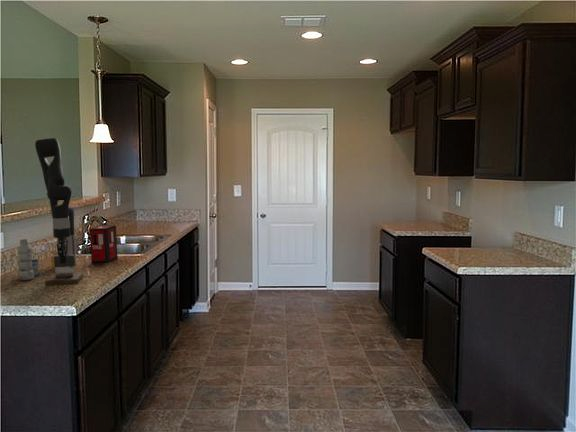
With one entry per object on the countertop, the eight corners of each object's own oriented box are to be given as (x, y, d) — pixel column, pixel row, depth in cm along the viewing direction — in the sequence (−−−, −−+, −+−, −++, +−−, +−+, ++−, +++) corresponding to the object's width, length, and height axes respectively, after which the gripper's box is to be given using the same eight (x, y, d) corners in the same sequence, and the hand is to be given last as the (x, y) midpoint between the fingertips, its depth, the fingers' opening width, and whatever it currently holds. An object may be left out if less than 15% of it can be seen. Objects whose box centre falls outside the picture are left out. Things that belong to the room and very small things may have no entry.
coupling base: (52, 278, 245) (52, 274, 245) (82, 277, 248) (82, 272, 248) (45, 285, 231) (45, 280, 231) (77, 283, 234) (77, 278, 234)
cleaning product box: (102, 258, 299) (101, 225, 297) (117, 258, 299) (115, 225, 297) (91, 263, 283) (89, 229, 281) (107, 263, 283) (105, 228, 281)
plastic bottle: (20, 279, 245) (17, 239, 243) (35, 278, 247) (32, 238, 245) (18, 282, 239) (15, 241, 237) (33, 280, 241) (30, 240, 239)
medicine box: (24, 278, 246) (23, 261, 245) (19, 277, 249) (17, 260, 248) (39, 275, 253) (38, 259, 252) (34, 274, 255) (33, 258, 254)
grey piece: (51, 278, 234) (50, 257, 233) (55, 274, 242) (54, 254, 241) (74, 277, 237) (72, 256, 236) (77, 273, 244) (76, 253, 243)
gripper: (56, 225, 243) (58, 260, 245) (49, 229, 229) (51, 265, 231) (72, 225, 245) (74, 259, 246) (66, 228, 231) (69, 264, 233)
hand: (63, 262), depth 239 cm, fingers open, 3 cm apart
